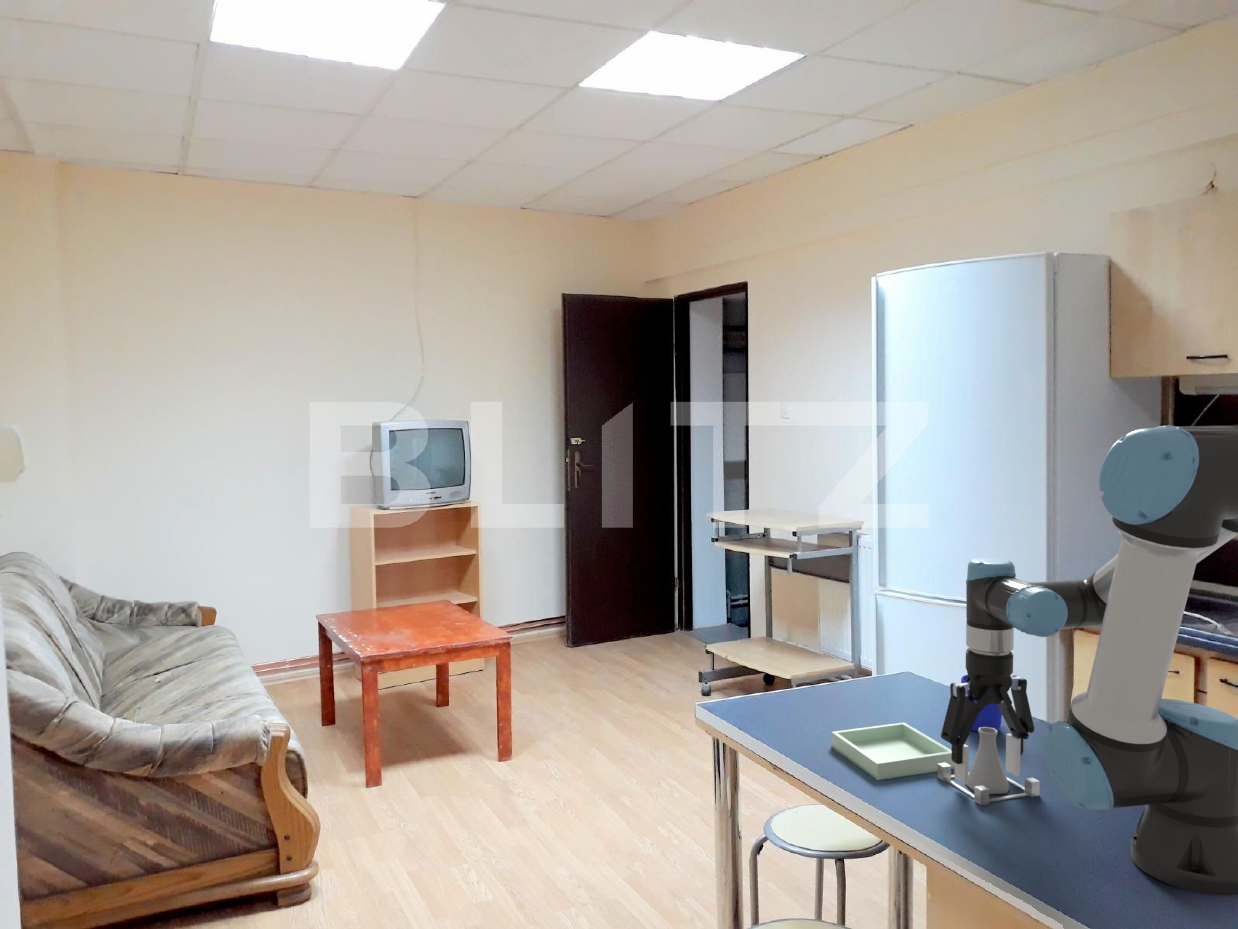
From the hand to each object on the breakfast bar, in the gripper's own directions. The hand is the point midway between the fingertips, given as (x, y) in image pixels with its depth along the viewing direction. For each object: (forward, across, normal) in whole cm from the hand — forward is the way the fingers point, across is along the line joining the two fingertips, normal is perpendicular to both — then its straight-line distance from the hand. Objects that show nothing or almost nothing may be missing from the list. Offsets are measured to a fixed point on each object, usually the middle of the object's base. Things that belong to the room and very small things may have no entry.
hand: (987, 777), depth 157 cm
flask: (+2, 0, 0) cm, 2 cm away
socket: (+2, 0, 0) cm, 2 cm away
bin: (+2, +8, -16) cm, 18 cm away
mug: (+2, -18, -24) cm, 31 cm away
